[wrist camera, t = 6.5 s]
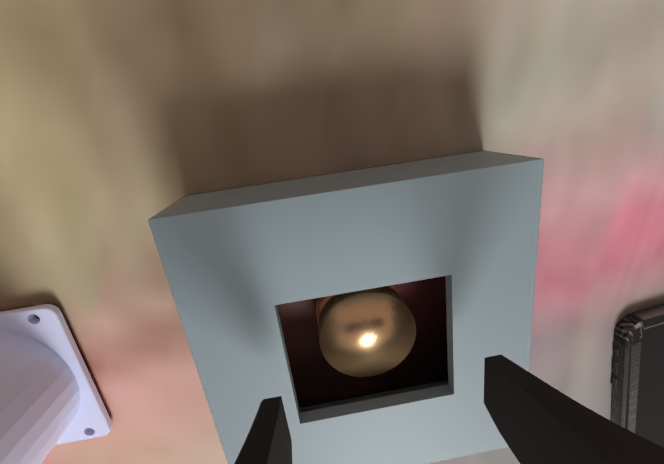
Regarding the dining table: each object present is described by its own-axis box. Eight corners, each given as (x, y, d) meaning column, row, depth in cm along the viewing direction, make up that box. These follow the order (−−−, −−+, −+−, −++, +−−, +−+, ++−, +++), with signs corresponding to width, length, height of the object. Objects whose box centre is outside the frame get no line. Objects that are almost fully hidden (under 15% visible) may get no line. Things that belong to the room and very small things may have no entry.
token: (322, 344, 18) (326, 384, 15) (309, 272, 17) (312, 302, 14) (399, 330, 18) (418, 367, 16) (393, 258, 17) (413, 285, 14)
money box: (251, 428, 19) (240, 501, 16) (185, 195, 15) (148, 219, 11) (480, 383, 20) (523, 443, 16) (483, 150, 16) (543, 158, 12)
